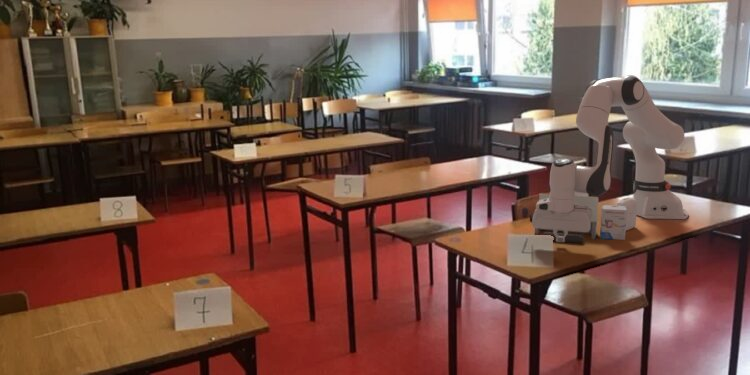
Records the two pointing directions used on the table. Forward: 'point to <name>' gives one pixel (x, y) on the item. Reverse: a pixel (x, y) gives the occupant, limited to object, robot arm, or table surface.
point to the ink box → (613, 222)
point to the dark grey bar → (568, 237)
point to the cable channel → (591, 231)
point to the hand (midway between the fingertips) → (560, 241)
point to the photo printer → (629, 211)
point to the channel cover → (582, 204)
